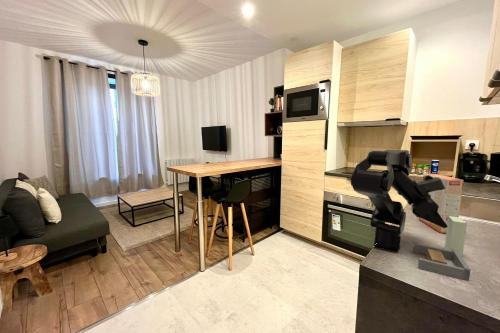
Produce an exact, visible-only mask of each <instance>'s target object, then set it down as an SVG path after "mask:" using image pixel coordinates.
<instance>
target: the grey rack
mask: <svg viewBox="0 0 500 333" xmlns="http://www.w3.org/2000/svg"><path fill="white" fill-rule="evenodd" d="M412 248H413V250H412V251H413V252H414V253H418V254H422V255H426V253H427V250H428V249H432V250H437V251H441V253H442V254H443V256H444V258H445V260H448V261H449V260H451V261H452V263H453V264H454V265H451V264H448V263H447V264H443V263H439V262H434V261H430V260H427V258H420V257H419V258H418V262H417V263H418V264H417V268H418V269H420V270H425V271H429V272H433V273H436V274H440V275H445V276H449V277H452V278H456V279H461V280H464V281H470V275H471V268H470V267H469V265H468V264H467V262H466V261H465V259H464V258H463V257H461V255H460V254H459V252H458V251H457V250H454V249H452V251H451V250H446V249H445V248H440V247H436V246H431V245H425V244H419V243H415V242H413V247H412Z"/></svg>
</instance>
